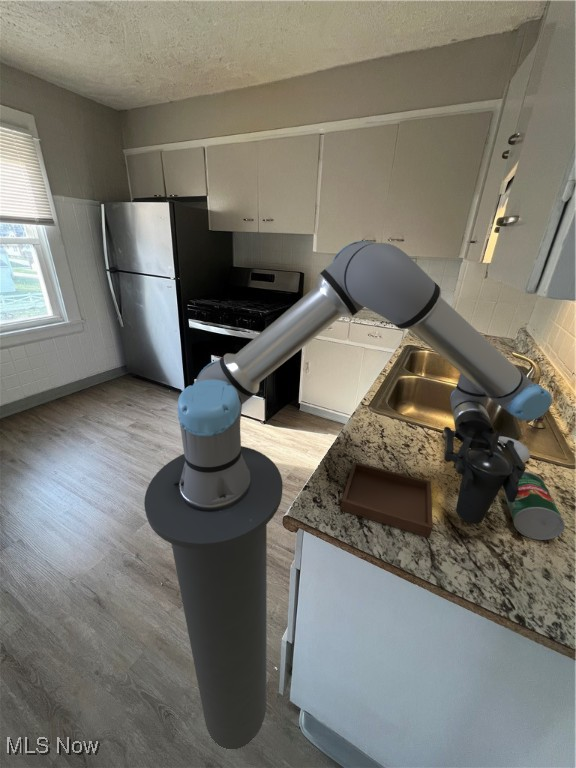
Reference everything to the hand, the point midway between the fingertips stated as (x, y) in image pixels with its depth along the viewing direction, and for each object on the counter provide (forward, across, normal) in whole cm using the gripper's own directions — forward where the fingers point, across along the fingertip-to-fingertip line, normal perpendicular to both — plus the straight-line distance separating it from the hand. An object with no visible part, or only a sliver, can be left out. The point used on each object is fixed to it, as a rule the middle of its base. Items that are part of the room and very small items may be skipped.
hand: (490, 490), depth 54 cm
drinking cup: (-5, 0, -11) cm, 12 cm away
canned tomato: (-17, -12, -10) cm, 23 cm away
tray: (-5, +16, -14) cm, 22 cm away
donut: (-35, -13, -14) cm, 40 cm away
